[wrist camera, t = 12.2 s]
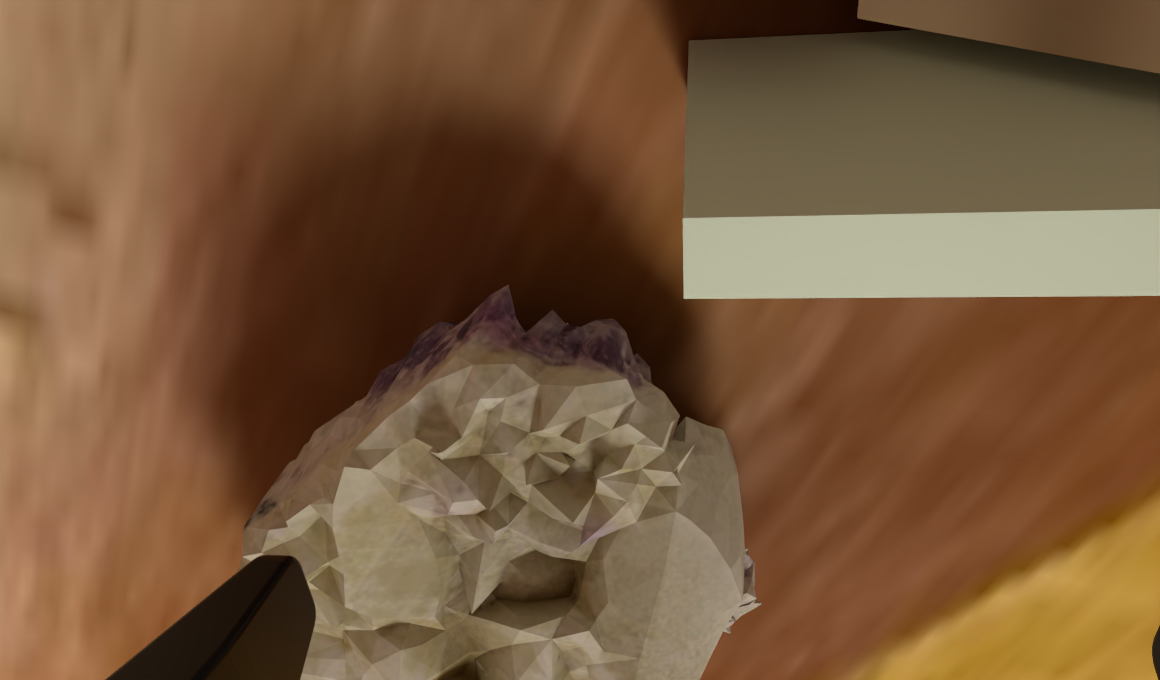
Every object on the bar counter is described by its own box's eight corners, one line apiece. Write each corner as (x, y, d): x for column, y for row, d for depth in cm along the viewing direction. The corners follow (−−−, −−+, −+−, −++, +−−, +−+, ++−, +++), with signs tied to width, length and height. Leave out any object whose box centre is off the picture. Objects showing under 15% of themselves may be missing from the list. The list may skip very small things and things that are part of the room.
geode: (757, 265, 27) (268, 231, 25) (891, 327, 18) (142, 281, 16) (698, 733, 31) (267, 730, 29) (784, 982, 22) (163, 1000, 20)
